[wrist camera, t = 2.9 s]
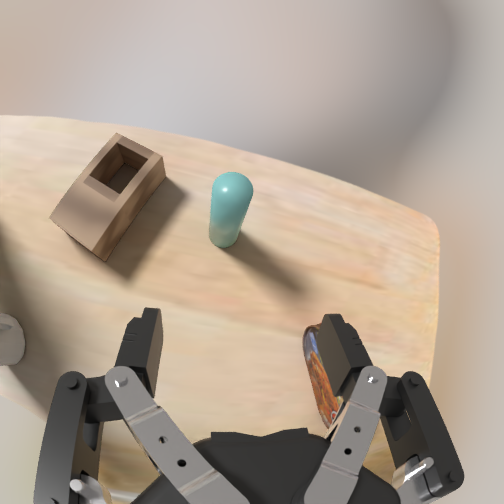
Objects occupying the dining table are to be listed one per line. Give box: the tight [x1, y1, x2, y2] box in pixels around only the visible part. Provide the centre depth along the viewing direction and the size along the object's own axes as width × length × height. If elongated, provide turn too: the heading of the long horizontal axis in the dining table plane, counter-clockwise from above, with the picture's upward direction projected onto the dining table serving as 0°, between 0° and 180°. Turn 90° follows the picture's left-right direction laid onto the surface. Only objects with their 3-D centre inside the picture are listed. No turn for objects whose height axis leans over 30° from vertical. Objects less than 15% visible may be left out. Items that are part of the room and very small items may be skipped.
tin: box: [303, 323, 343, 430], centre depth 29 cm, size 15×3×8 cm, turn 15°
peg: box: [209, 172, 253, 248], centre depth 31 cm, size 4×4×12 cm
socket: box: [49, 133, 166, 262], centre depth 33 cm, size 14×8×5 cm, turn 151°
